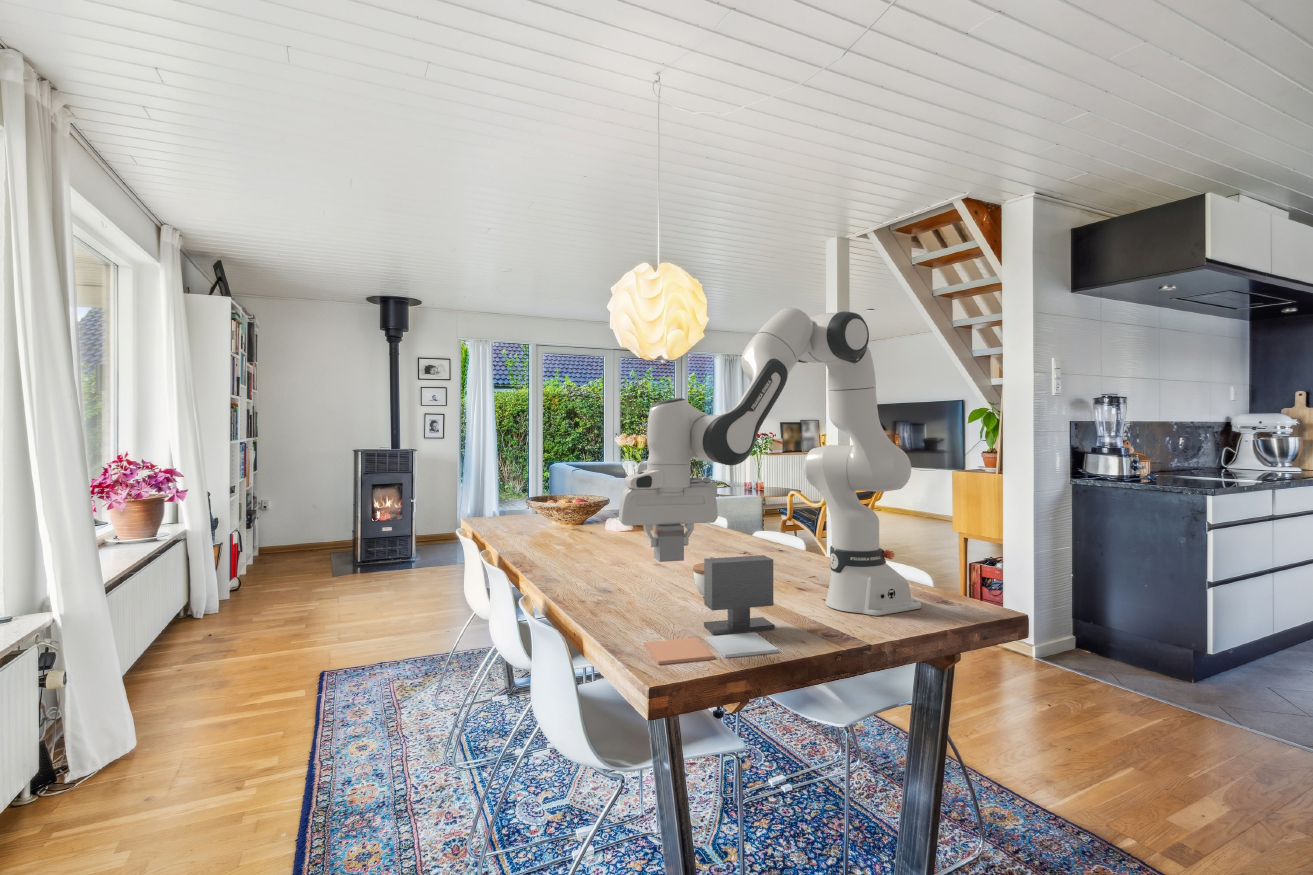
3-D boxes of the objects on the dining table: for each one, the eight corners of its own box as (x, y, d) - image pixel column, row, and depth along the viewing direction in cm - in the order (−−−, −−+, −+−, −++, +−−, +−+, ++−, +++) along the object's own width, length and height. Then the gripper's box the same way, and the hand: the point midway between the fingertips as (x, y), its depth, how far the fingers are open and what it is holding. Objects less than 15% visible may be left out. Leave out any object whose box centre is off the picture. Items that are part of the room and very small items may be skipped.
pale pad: (755, 635, 137) (755, 632, 137) (778, 652, 127) (778, 649, 127) (705, 639, 135) (705, 636, 135) (724, 657, 124) (724, 654, 124)
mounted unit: (763, 621, 147) (762, 554, 147) (774, 629, 141) (774, 559, 141) (703, 626, 144) (703, 558, 143) (713, 634, 138) (712, 563, 137)
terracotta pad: (696, 640, 134) (696, 637, 134) (714, 658, 124) (714, 655, 124) (644, 645, 131) (644, 642, 131) (658, 664, 121) (658, 661, 121)
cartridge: (677, 556, 137) (677, 522, 137) (683, 560, 132) (683, 525, 132) (653, 557, 136) (653, 523, 135) (659, 561, 131) (659, 526, 131)
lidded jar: (685, 597, 168) (685, 561, 168) (706, 589, 177) (705, 554, 177) (722, 603, 162) (722, 565, 162) (741, 594, 171) (741, 558, 171)
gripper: (712, 476, 139) (712, 541, 139) (617, 477, 134) (617, 545, 134) (722, 478, 133) (722, 546, 133) (623, 480, 128) (623, 550, 128)
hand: (668, 546), depth 134 cm, fingers closed on cartridge, 5 cm apart
